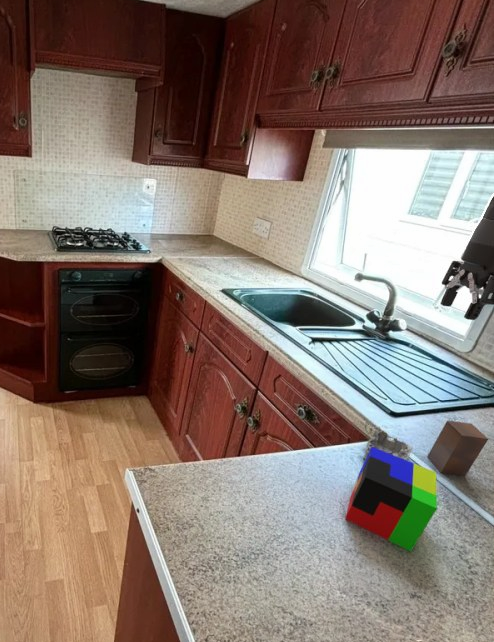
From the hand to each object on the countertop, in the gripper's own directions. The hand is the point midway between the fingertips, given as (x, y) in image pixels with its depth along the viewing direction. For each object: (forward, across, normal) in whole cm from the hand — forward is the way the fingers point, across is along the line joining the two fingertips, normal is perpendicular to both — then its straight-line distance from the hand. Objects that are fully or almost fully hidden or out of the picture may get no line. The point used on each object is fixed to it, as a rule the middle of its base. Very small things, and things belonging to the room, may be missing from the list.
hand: (456, 312), depth 93 cm
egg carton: (+28, -21, +16) cm, 39 cm away
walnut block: (+28, -21, +3) cm, 35 cm away
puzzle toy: (+28, -38, +25) cm, 54 cm away
